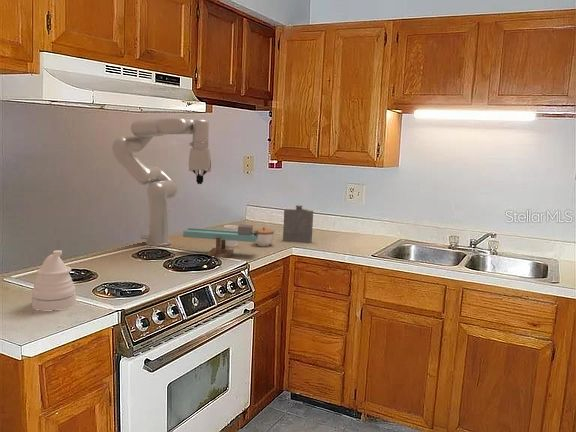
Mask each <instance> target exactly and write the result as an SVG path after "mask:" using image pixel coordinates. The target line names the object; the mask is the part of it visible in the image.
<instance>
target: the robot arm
mask: <svg viewBox="0 0 576 432" xmlns="http://www.w3.org/2000/svg"><path fill="white" fill-rule="evenodd" d="M209 126H210V122H209V121H208V120H207V119H199V118H198V119H193V118H184V117H173V118H172V117H171V118H147V119H146V118H143V119H135V120H133V122H132V123H131V124H130V131H131V132H130V133H132V134H133V135H121V136H118V137H116V138H114V140H113V141H112V146H111V151H112V154H113V156H114V159H115V160H116V162H118V164H120V165H121V166H122V167H123V168H124V169H125V170H126V171H127V172H128V174H129V175H130V176H132V178H134V180H135V181H136V182H137V183H138V184H140V185H142V186H147V189H146V195H147V196H146V197H147V202H148V233H147V234H141V235H140V238H141V240H145V244H146V245H147V246H152V247H162V246H163V247H165V246H169V245H171V244H172V240H171V239H169V206H168V202H167V200H168V199H172V198H173V197H175V196H176V195H177V194H178V193H177V192H178V187H177V185H176V183H175V182H174V181H173V180H172V179H171V178H170V177H169V176H168V174H166V172H165V171H164V170H162V169H161V168H160V167H158V166H155V165H146V163H144V162H143V161H142V160H141V159H140V158H139V157H137V156H136V155H135V154H136V153H139V152H141V151H142V150H143V149H144V148H145V147H146V146H147V145H148V144H149V143H150V141H151V140H152V139H153V138H154V137H163V136H165V135H166V136H167V135H192V141H191V142H189V146H190V147H191V148H190V149H189V157H188V171H189V172H192V173H193V174H194V175H195V176H196V183H197V185H203V183H204V176H205V175H206V174H207V173H211V172H212V157H211V150H210V148H209V138H210V137H209V133H210V132H209V130H210V127H209ZM133 153H135V154H133Z"/></svg>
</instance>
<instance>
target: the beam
mask: <svg viewBox="0 0 576 432" xmlns="http://www.w3.org/2000/svg"><path fill="white" fill-rule="evenodd" d="M182 234H183V235H182V236H183V238H190V239H191V238H194V239H206V240H207V239H208V240H216V237H220V238H221V241H222V240H231V241H238V242H249V243H256V241H257V239H258V231H255V232H253V234H252V236H251V235H238V231H228V230H224V229H213V228H212V229H211V228H198V227H188V228H187V230H183V233H182Z"/></svg>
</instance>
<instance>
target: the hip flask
mask: <svg viewBox="0 0 576 432" xmlns="http://www.w3.org/2000/svg"><path fill="white" fill-rule="evenodd" d="M313 223H314V210H308V209H306V208H303V205H302V204H301V205H299V204H296V205H295V208H284V210H283V229H282V230H283V233H282V242H292V243H301V244H302V243H303V244H312V241H313Z"/></svg>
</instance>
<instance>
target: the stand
mask: <svg viewBox="0 0 576 432" xmlns="http://www.w3.org/2000/svg"><path fill="white" fill-rule="evenodd" d="M234 249H235V248H230V247H227V246H226V240H222V241H221V238H220V237H216V239H215V247H212V249H210V250H209V251H208V252H207V253H206V256H207V255H209V256H214V257H213V258H220V257H223V258H224V259H229V258H230V257H231V256H232V255H233V253H234Z"/></svg>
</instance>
